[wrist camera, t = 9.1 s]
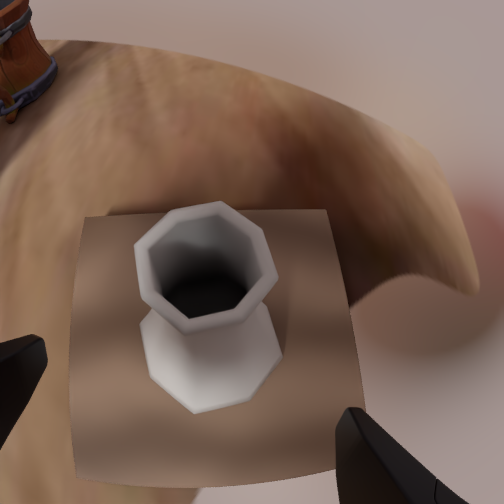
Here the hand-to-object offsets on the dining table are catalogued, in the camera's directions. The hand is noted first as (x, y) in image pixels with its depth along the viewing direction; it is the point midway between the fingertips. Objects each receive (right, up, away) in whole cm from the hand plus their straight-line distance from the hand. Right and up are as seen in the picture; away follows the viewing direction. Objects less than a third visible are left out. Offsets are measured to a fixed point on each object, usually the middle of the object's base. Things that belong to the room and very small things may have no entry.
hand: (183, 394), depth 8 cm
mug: (-27, +22, +19) cm, 40 cm away
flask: (0, -1, +8) cm, 8 cm away
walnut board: (-1, -2, +10) cm, 10 cm away
